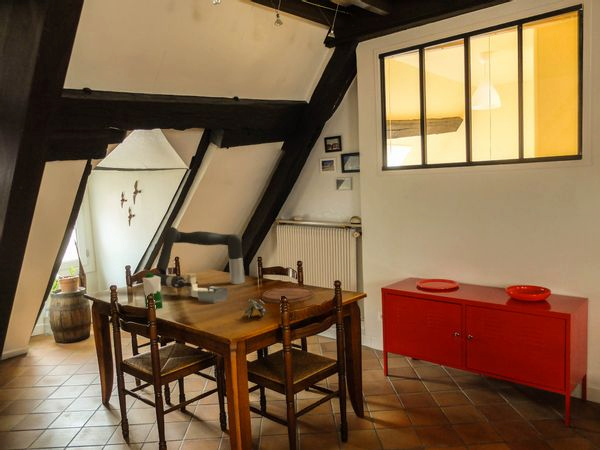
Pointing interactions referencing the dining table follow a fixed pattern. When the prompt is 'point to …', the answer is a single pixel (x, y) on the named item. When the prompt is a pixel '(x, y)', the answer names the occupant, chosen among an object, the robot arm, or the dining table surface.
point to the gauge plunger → (195, 289)
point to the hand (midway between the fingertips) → (194, 283)
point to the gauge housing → (213, 295)
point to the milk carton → (153, 288)
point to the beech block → (190, 279)
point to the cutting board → (288, 294)
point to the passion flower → (254, 307)
